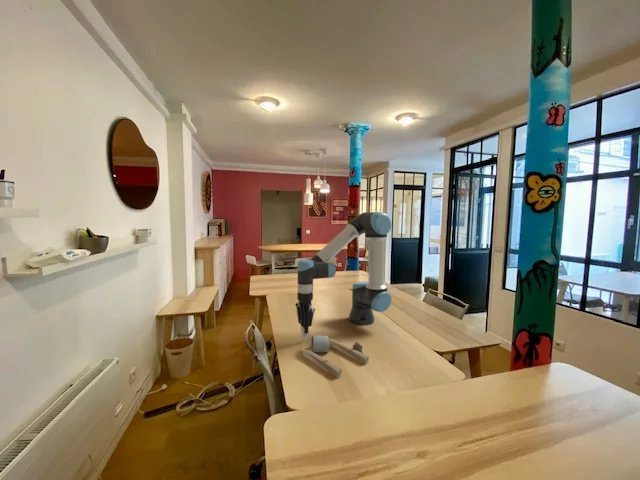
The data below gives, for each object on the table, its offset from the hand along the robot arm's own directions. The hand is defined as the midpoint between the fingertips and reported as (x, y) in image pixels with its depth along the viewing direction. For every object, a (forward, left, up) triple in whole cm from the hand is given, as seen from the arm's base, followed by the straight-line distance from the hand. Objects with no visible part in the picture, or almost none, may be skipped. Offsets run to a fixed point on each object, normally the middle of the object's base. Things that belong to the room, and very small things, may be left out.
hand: (304, 338), depth 140 cm
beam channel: (-2, +21, -2) cm, 21 cm away
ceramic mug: (-1, +11, -2) cm, 11 cm away
